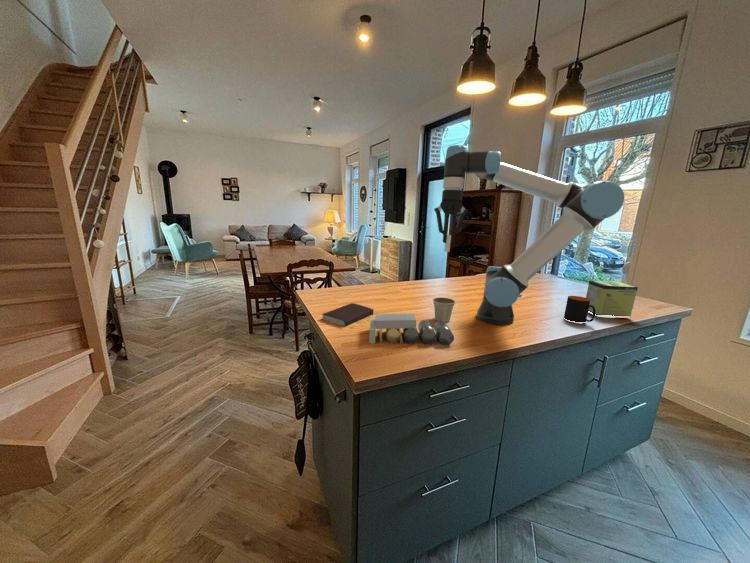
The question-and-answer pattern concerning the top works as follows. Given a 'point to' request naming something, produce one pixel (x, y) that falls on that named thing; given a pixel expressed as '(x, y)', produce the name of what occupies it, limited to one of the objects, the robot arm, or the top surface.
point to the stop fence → (372, 329)
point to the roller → (393, 335)
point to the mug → (578, 309)
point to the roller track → (426, 333)
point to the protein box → (611, 297)
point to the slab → (395, 321)
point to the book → (347, 314)
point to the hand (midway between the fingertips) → (446, 251)
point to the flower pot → (443, 308)
